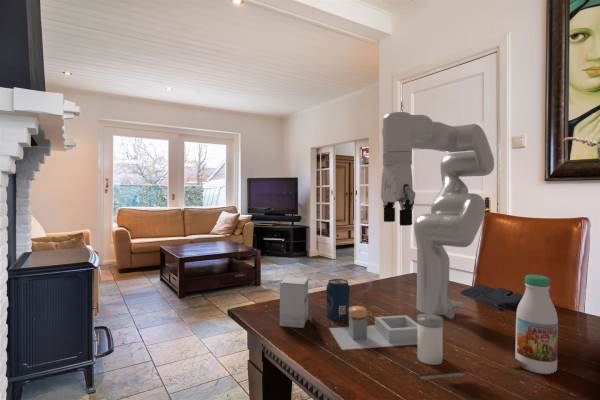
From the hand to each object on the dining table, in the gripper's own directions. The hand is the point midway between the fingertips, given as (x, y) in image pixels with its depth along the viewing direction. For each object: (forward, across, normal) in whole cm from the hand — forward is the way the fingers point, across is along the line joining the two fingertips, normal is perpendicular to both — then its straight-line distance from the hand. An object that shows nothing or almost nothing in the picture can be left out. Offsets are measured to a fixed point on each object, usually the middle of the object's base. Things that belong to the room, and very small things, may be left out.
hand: (397, 223), depth 94 cm
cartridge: (+29, +18, -1) cm, 34 cm away
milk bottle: (+30, +22, +22) cm, 44 cm away
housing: (+30, +4, -6) cm, 31 cm away
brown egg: (+27, +4, -13) cm, 30 cm away
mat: (+30, +18, -1) cm, 35 cm away
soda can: (+30, -11, -13) cm, 35 cm away
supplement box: (+30, -13, -26) cm, 42 cm away
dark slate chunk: (+31, -21, +48) cm, 61 cm away
